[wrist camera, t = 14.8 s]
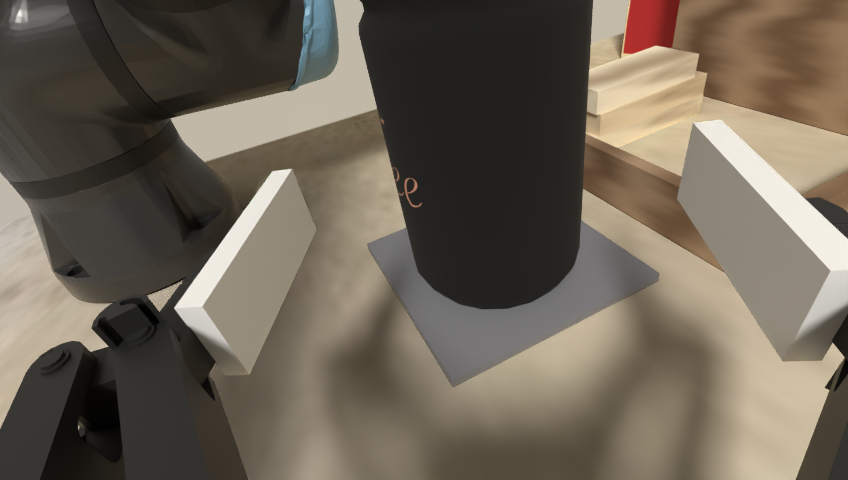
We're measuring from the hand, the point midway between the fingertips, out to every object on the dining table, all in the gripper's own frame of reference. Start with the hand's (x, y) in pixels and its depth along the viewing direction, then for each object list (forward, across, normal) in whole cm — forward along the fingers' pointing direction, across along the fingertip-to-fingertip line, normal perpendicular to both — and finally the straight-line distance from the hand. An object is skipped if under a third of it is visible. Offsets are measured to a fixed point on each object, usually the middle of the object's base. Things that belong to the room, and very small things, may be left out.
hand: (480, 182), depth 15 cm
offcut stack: (+28, +13, -13) cm, 34 cm away
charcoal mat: (+10, 0, -12) cm, 16 cm away
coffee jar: (+10, 0, -12) cm, 15 cm away
